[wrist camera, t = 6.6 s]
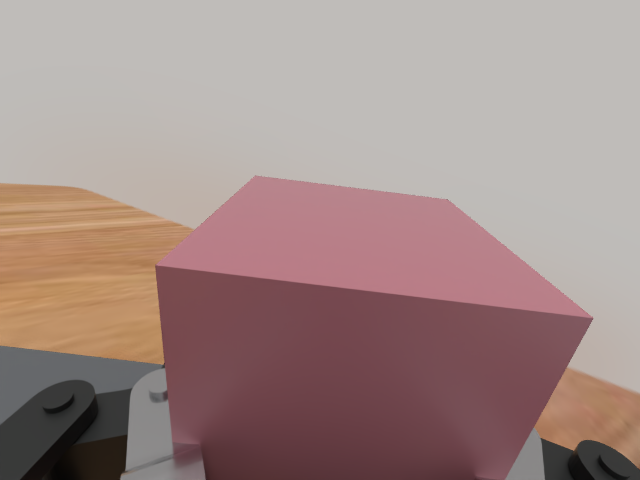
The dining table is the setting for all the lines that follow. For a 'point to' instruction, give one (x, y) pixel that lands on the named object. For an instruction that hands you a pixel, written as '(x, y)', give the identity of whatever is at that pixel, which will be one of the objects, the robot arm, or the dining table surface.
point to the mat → (60, 374)
